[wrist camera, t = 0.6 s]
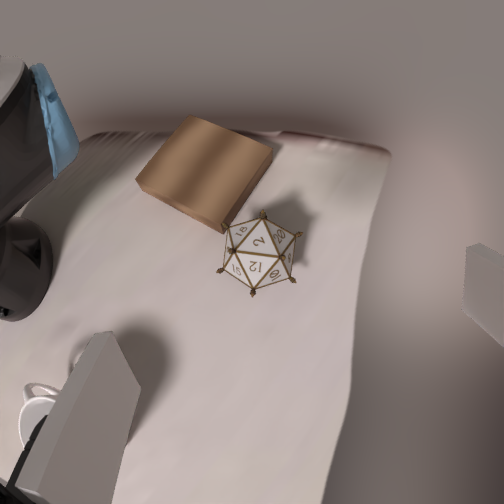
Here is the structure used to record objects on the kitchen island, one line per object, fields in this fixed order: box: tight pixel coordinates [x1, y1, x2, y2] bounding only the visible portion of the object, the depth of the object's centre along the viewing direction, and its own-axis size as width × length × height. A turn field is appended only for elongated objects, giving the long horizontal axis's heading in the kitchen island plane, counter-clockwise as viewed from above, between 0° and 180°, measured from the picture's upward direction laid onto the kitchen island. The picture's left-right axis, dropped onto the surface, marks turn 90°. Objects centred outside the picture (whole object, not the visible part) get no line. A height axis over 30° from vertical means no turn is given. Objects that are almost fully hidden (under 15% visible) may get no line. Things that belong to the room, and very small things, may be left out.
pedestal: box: [135, 115, 273, 234], centre depth 40 cm, size 13×12×3 cm
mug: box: [18, 383, 128, 447], centre depth 26 cm, size 9×12×11 cm
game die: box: [216, 210, 303, 297], centre depth 33 cm, size 9×8×10 cm
